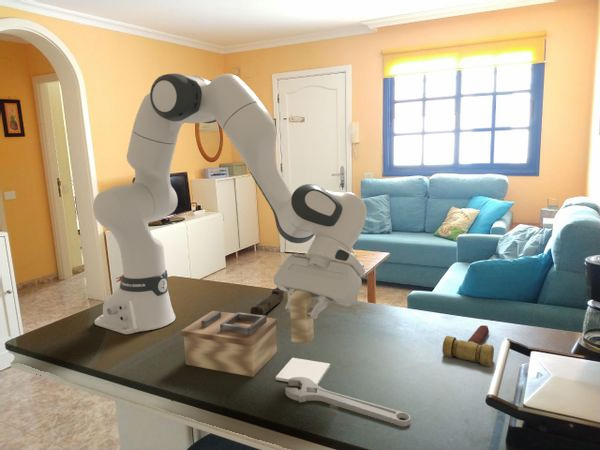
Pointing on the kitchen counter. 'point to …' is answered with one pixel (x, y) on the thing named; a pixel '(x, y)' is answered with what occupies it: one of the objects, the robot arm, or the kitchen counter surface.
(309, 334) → the oak block
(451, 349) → the gavel
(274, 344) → the brown rectangular box
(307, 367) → the white mat
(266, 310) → the hand tool
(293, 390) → the adjustable wrench
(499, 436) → the kitchen counter surface
